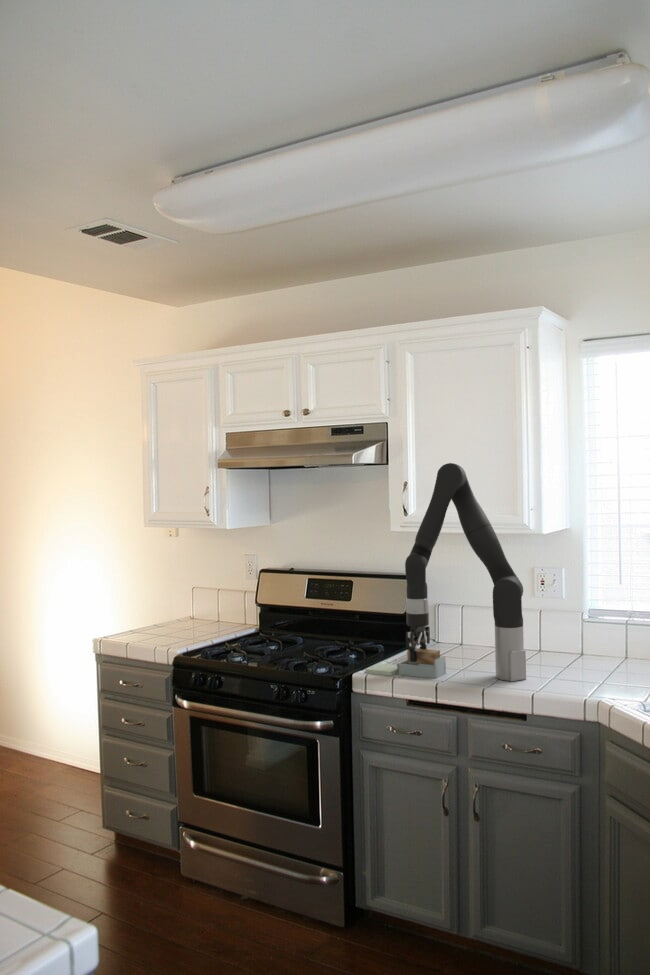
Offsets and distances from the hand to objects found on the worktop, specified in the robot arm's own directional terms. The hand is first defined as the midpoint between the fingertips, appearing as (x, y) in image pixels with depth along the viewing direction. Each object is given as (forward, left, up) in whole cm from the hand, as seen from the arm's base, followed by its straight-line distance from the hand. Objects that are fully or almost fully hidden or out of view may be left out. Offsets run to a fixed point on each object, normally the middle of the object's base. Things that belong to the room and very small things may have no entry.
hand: (418, 659), depth 285 cm
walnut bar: (-2, -1, -1) cm, 2 cm away
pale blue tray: (-1, -1, -5) cm, 5 cm away
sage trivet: (+9, +8, -5) cm, 13 cm away
